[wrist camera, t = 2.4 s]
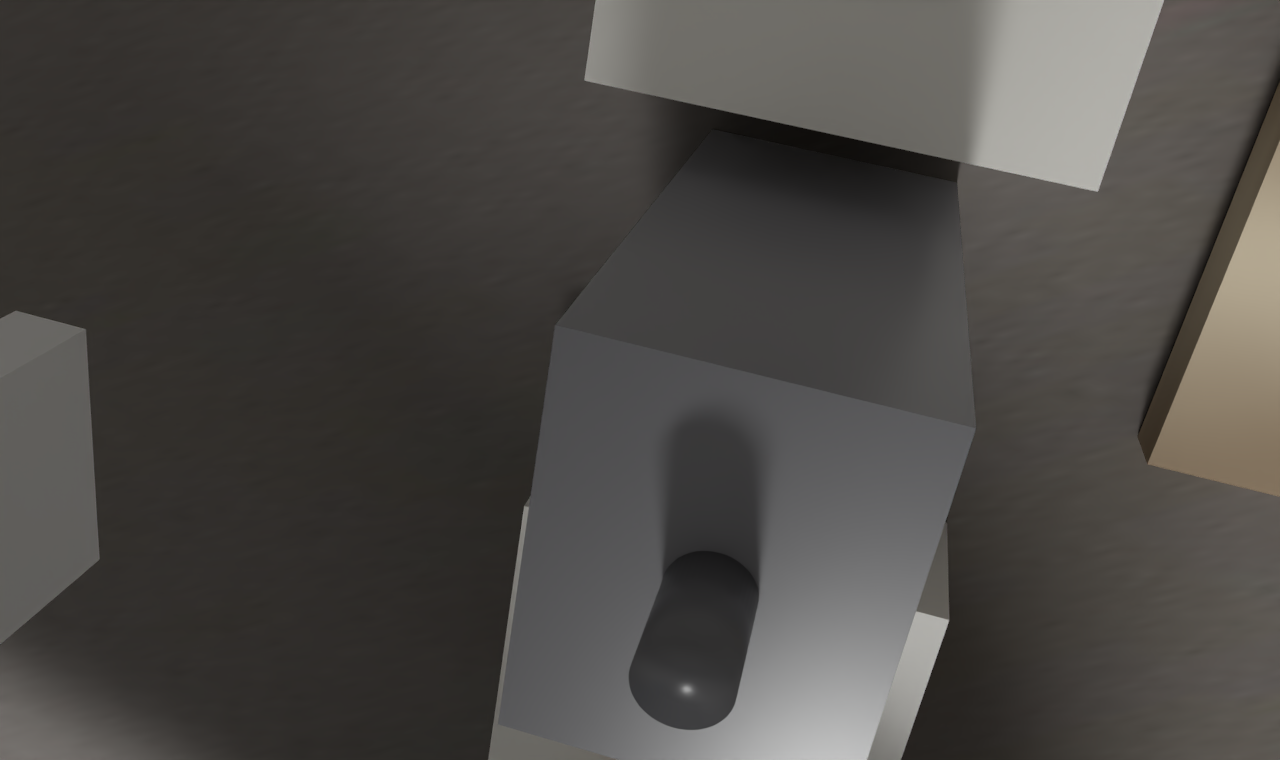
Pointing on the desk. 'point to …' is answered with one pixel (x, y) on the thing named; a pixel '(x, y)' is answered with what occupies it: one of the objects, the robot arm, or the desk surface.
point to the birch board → (1230, 344)
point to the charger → (745, 463)
